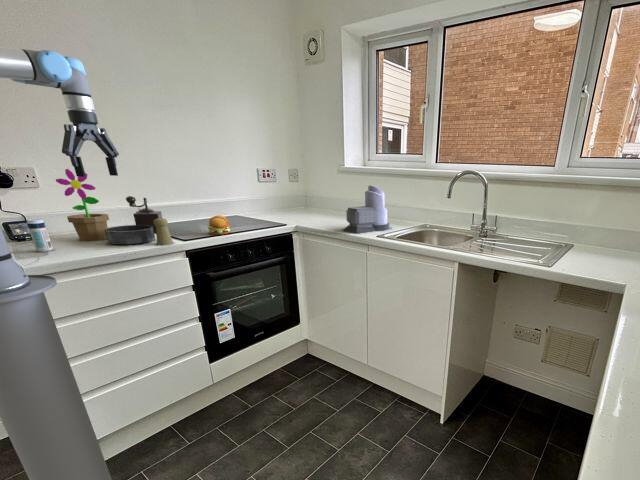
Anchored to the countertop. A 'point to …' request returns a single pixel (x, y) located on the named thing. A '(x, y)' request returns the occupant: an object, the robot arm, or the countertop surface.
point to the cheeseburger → (218, 225)
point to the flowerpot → (85, 224)
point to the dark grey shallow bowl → (129, 234)
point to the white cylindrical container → (39, 235)
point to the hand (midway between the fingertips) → (98, 176)
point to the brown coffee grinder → (144, 213)
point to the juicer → (368, 213)
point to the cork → (162, 232)
